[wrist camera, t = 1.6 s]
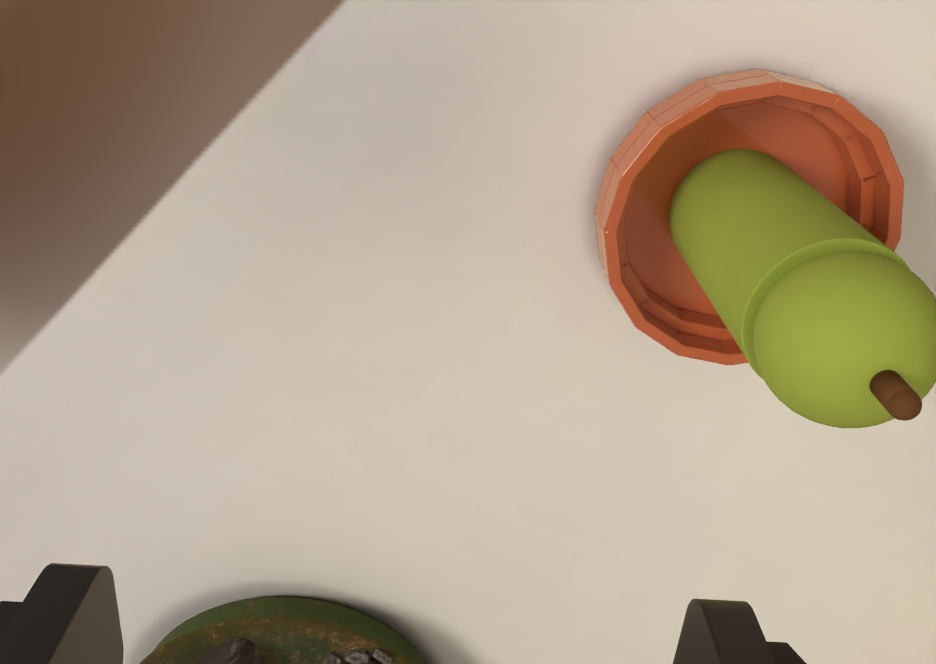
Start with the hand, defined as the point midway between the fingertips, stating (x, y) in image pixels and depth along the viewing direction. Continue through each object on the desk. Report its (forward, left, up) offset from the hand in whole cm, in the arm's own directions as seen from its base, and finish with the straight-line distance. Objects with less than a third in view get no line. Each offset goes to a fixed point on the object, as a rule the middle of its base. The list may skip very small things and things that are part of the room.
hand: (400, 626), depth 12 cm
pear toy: (+4, +11, -24) cm, 27 cm away
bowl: (+4, +11, -24) cm, 27 cm away
